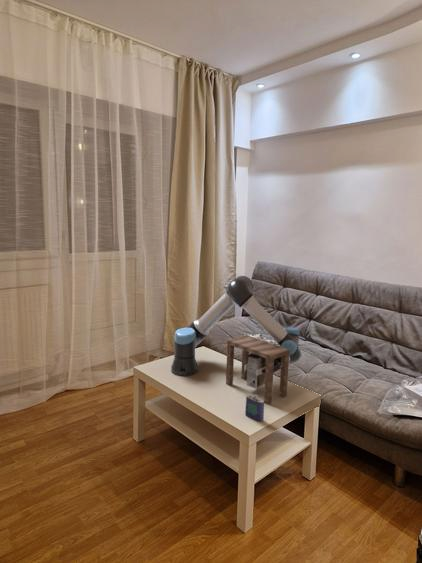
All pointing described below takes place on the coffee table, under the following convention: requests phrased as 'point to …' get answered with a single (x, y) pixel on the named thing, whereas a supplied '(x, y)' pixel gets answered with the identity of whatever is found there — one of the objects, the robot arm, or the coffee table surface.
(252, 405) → the flask
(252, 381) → the coffee box
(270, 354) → the wooden stool
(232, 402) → the coffee table surface
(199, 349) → the coffee table surface
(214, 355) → the coffee table surface
